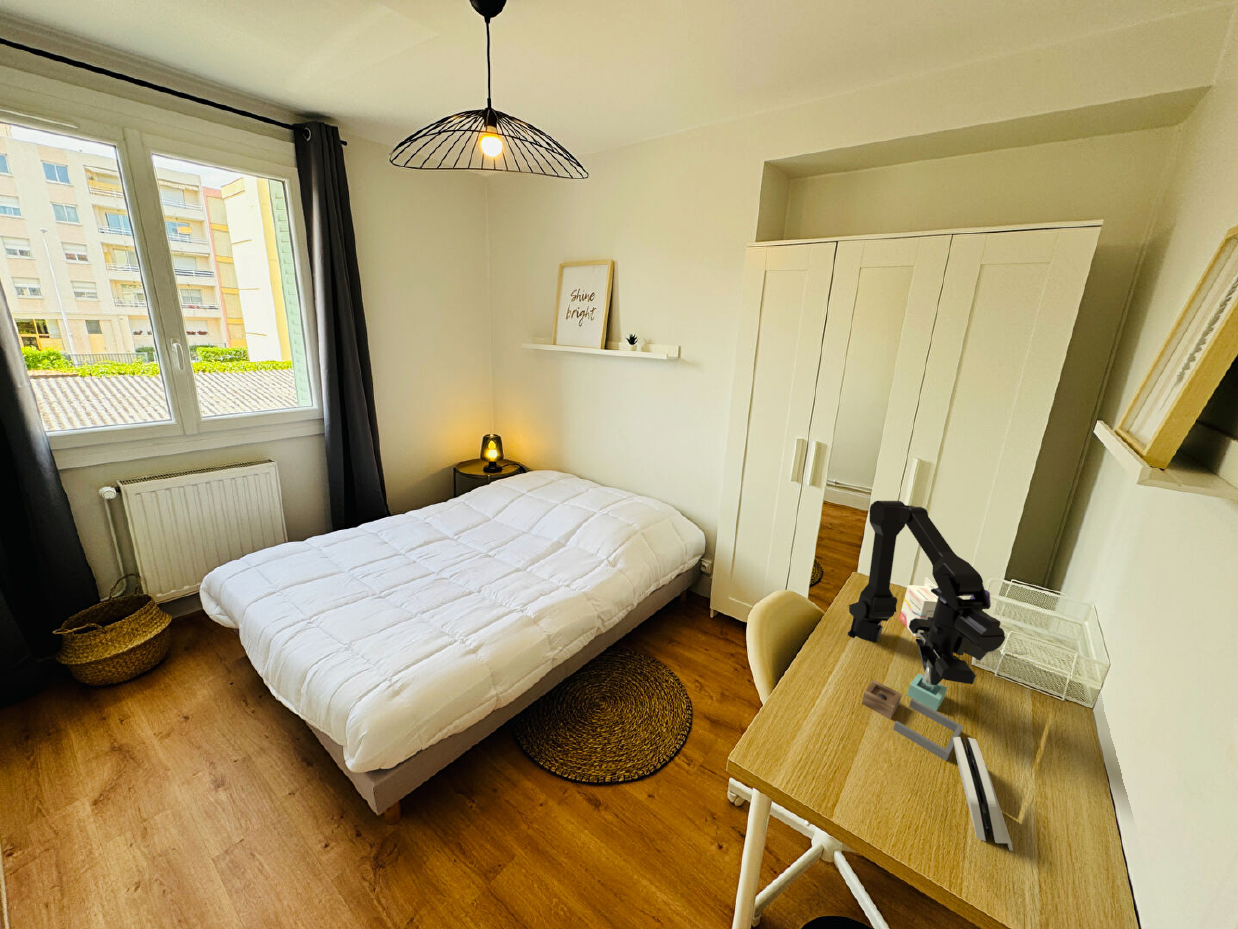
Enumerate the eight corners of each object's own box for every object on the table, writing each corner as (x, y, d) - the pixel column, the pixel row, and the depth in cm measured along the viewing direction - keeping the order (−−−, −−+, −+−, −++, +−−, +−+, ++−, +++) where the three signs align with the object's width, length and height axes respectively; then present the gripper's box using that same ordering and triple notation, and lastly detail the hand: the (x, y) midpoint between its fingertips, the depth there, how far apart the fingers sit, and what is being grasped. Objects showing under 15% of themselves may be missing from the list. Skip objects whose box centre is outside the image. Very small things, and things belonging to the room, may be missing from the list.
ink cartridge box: (897, 619, 141) (909, 575, 137) (914, 619, 141) (926, 575, 137) (914, 637, 133) (927, 591, 129) (932, 638, 133) (945, 592, 129)
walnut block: (860, 707, 108) (864, 692, 106) (869, 693, 112) (873, 679, 110) (889, 723, 104) (893, 708, 102) (898, 708, 108) (901, 694, 106)
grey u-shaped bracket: (892, 732, 101) (895, 722, 100) (909, 707, 108) (912, 698, 107) (945, 764, 94) (948, 754, 93) (960, 735, 101) (963, 726, 100)
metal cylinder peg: (915, 695, 110) (925, 663, 108) (919, 689, 112) (929, 657, 110) (930, 704, 108) (941, 671, 106) (935, 697, 110) (945, 665, 108)
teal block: (906, 698, 111) (909, 684, 110) (914, 686, 115) (918, 673, 113) (935, 714, 107) (939, 700, 105) (943, 701, 110) (947, 687, 109)
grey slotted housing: (1013, 853, 78) (1005, 801, 77) (978, 847, 80) (969, 797, 79) (987, 771, 93) (979, 726, 92) (958, 768, 95) (950, 724, 94)
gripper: (1014, 655, 94) (992, 718, 99) (967, 603, 112) (950, 659, 116) (952, 645, 96) (933, 708, 101) (915, 596, 114) (900, 651, 118)
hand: (930, 679), depth 109 cm, fingers closed on metal cylinder peg, 3 cm apart
